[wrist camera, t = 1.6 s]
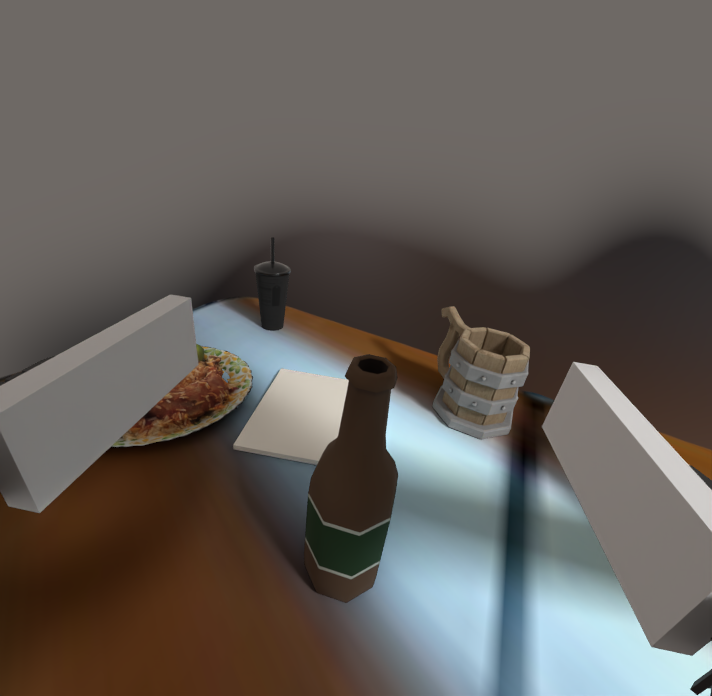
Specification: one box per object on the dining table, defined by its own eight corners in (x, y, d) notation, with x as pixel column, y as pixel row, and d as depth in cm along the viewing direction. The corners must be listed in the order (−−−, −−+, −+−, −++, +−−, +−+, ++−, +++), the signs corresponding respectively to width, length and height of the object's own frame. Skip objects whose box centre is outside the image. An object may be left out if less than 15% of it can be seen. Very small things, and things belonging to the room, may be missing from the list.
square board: (388, 390, 64) (388, 386, 63) (379, 476, 46) (380, 472, 46) (281, 372, 65) (281, 368, 65) (233, 449, 48) (233, 444, 47)
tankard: (525, 432, 58) (561, 353, 51) (461, 444, 54) (490, 360, 46) (457, 367, 74) (477, 301, 67) (403, 373, 70) (418, 302, 63)
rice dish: (23, 399, 53) (9, 369, 51) (190, 336, 73) (186, 312, 71) (114, 502, 40) (101, 470, 38) (287, 391, 60) (287, 365, 58)
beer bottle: (286, 568, 35) (293, 362, 23) (336, 515, 41) (361, 329, 29) (348, 626, 31) (391, 415, 20) (393, 559, 37) (447, 365, 25)
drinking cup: (295, 323, 84) (298, 238, 74) (278, 336, 77) (279, 244, 68) (267, 316, 86) (266, 231, 76) (248, 327, 79) (245, 237, 70)
